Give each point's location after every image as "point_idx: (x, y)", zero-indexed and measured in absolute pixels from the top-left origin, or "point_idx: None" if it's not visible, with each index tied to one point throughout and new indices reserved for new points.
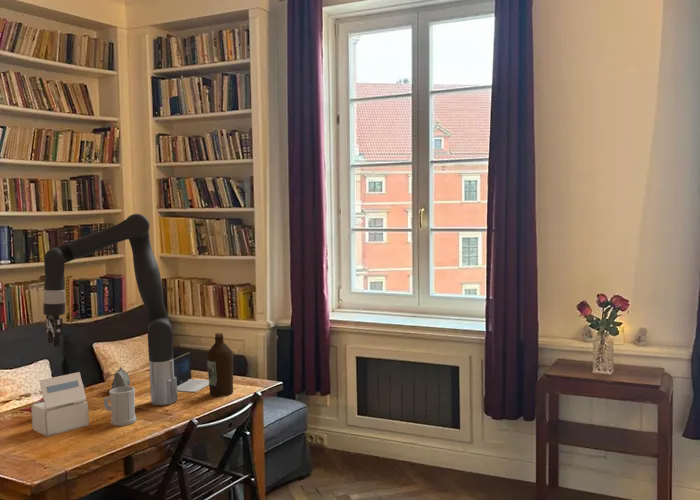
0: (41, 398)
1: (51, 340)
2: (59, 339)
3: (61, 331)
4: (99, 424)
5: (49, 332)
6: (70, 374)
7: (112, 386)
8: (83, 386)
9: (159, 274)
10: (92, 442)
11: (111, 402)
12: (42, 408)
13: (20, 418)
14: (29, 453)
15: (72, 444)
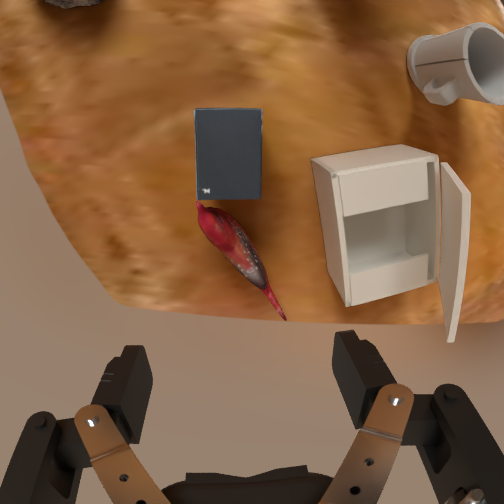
0: (234, 261)
1: (143, 372)
2: (373, 369)
3: (475, 415)
4: (411, 120)
5: (128, 442)
6: (468, 235)
7: (66, 4)
8: (262, 113)
9: None
10: (498, 182)
11: (476, 100)
12: (413, 286)
13: (198, 283)
14: None
15: (482, 217)
